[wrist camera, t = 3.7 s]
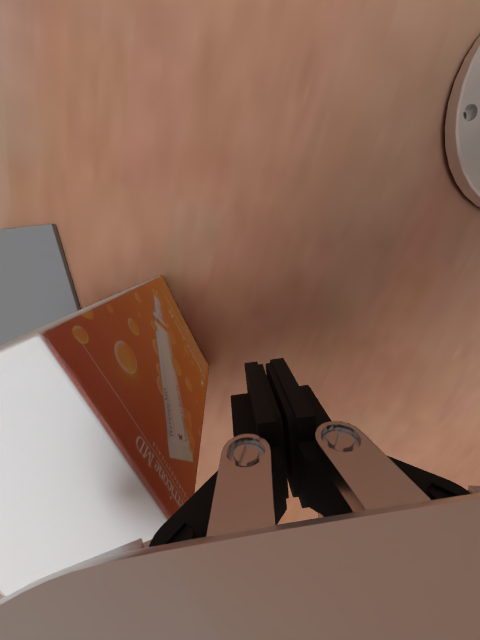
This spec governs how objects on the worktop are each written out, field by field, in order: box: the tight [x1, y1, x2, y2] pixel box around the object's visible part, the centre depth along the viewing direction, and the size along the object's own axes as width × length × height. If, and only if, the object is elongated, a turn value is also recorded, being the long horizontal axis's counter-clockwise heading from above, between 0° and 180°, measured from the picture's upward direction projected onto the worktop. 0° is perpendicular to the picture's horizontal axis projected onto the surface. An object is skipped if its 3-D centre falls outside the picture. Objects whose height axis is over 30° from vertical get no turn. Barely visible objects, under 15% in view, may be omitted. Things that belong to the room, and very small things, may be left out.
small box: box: [0, 275, 209, 597], centre depth 13 cm, size 8×6×13 cm
